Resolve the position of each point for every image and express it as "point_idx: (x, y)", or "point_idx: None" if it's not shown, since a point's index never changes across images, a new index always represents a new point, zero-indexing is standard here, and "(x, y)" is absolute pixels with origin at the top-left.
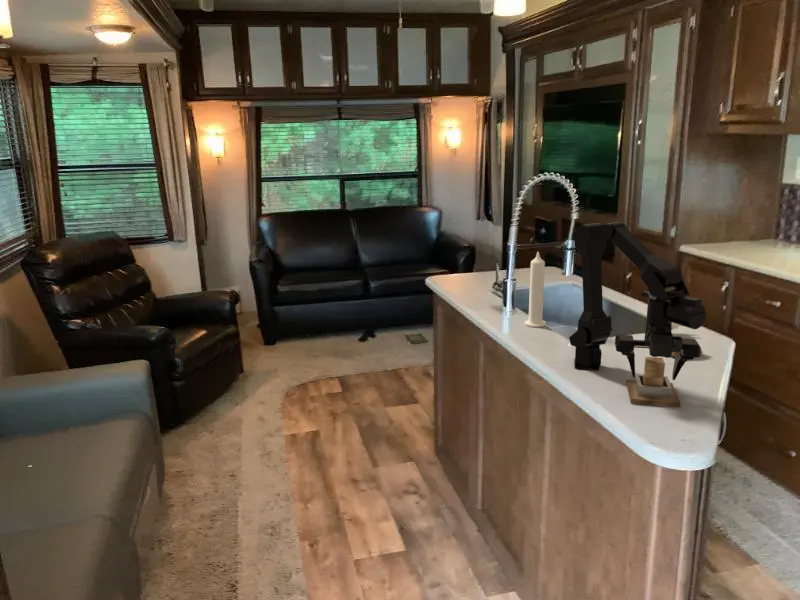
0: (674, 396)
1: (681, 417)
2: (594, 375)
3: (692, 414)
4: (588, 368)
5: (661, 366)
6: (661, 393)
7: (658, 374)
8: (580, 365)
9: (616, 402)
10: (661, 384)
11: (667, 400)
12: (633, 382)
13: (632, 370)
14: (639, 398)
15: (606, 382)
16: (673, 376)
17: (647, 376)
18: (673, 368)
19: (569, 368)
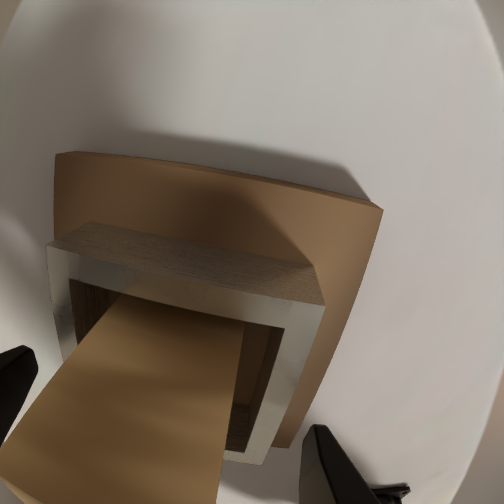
0: None
1: (111, 19)
2: (379, 467)
3: (48, 73)
4: (374, 492)
5: (32, 459)
6: (134, 242)
7: (97, 396)
8: (391, 498)
9: (446, 221)
10: (108, 323)
11: (117, 183)
12: None
13: (350, 472)
14: (319, 212)
15: (370, 433)
16: (13, 363)
17: (215, 403)
18: (5, 425)
19: (422, 482)
